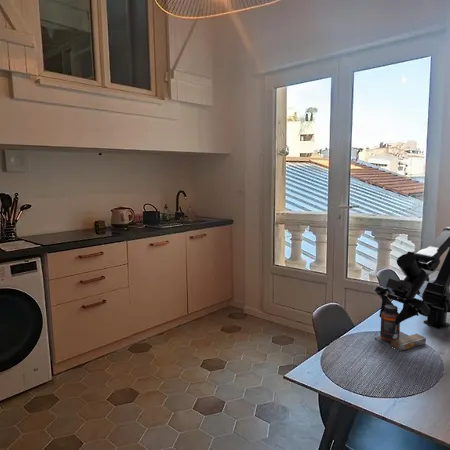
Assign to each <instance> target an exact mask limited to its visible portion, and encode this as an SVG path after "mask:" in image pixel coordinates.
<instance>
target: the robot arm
mask: <svg viewBox="0 0 450 450" xmlns="http://www.w3.org/2000/svg"><path fill="white" fill-rule="evenodd" d="M447 250H448V251H447ZM446 251H447V252H446ZM445 252H446V253H447V254H446V255H445V257H444V260H443V262H442V264H441V257H442V256H443V255H444V254H445ZM396 264H397V266H398V267H399V270H401V272H402V274H403V275H405V278H404V279H400V280H396V279H393V278H390V277H389V278H388V280H387V281H386V284H385V287H384V286H383V285H377V286H376V288H375V289H374V292H375V294H377V295H378V297H379V298H380V299H381V306H380V311H379V314H378V315H379V318H380V319H381V313H382V312H383V311H384V310H385V305H394V304H393V302H392V301H396V302H398V303H401V304H403V305H402V309H401V311H400V312H398V313H399V315H398V316H397V318H396V320H395V322H394V323H395V324H398V323H400V324H401V323H402V322H404V321H406V320H409V319H411V318H412V317H415V316H417V317H418V316H419V315H421V316H424V317H425V318H426V319H425V320H423V323H424V324H427V325H429V326H432V327H435V328H437V329H441V328H446V327H448V326H450V323H449V322H447V316H448V314H447V313H450V226H445V227H444V228H443V230H442V232H441V233H440V234H439V235H438V236H437V237H436V238H435V240H434V241H433V242H432V243H430V245H428V246H427V247H426V248H422V249H420V250H419V251H417V252H416V253H415V252H414V251H409V250H408V251H407V253H404V254H401V255H400V256H399V257H397V259H396ZM440 264H441V266H440V269H439V271H438V274H437V276H436V278H435V280H434V281H433V282H430V276H429V275H430V274H429V273H427V272H426V271H429V272H435V271H436V269H438V267H439V265H440ZM425 282H427V283H426V286H425V287H424V290H423V292H422V295H421V298H422V299H419V298H416V296H420V294H421V291H420V290H421V288H422V287H423V285H424V284H425ZM390 289H391V290H390Z"/></svg>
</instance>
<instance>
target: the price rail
mask: <svg viewBox="0 0 450 450" xmlns="http://www.w3.org/2000/svg"><path fill="white" fill-rule="evenodd" d="M426 342H427V337H424V336H422V335H420V334H418V333H414V334H410V335H409V336H406V337H403V338H399V339H396V340H392V341H391V347H390V348H392V347H393V348H392V349H394V348H395V349H394V350H396V349H397V350H396V351H398V350H399V351H398V352H401V351H404V350H408V349H411V348H414V347H418V346H421V345H424V344H426Z"/></svg>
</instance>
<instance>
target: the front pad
mask: <svg viewBox="0 0 450 450" xmlns="http://www.w3.org/2000/svg"><path fill="white" fill-rule="evenodd" d="M406 336H410V335H408V334H407V333H404V332H402V331H400V334H399V338H403V337H406ZM374 338H376V339H378V340H379V341H378V340H377V341H378V342H380V341H381V342H380V343H382V342H383V343H382V344H384V343H385V344H384V345H386V344H387V345H386V346H388V345H389V346H388V347H390V346H391V341H387V340H384V339H382V338H381V336H380V335H379V336H375V337H374ZM376 339H375V340H376Z"/></svg>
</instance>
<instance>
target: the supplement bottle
mask: <svg viewBox="0 0 450 450" xmlns="http://www.w3.org/2000/svg"><path fill="white" fill-rule="evenodd" d="M398 310H399V309H398V306H397V305H394V304H393V305H385V310H384V311H383V312H382V313H381V318H380V333H379V334H380V335H379V336H381V338H382V339H384V340H387V341H392V340H396V339H399V334H400V332H401V331H400V330H401V328H400V327H401V322H400V323H398V324H395V323H394V322H395V320H396V318H397V316H398V315H399V313H400V312H399V311H398Z"/></svg>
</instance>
